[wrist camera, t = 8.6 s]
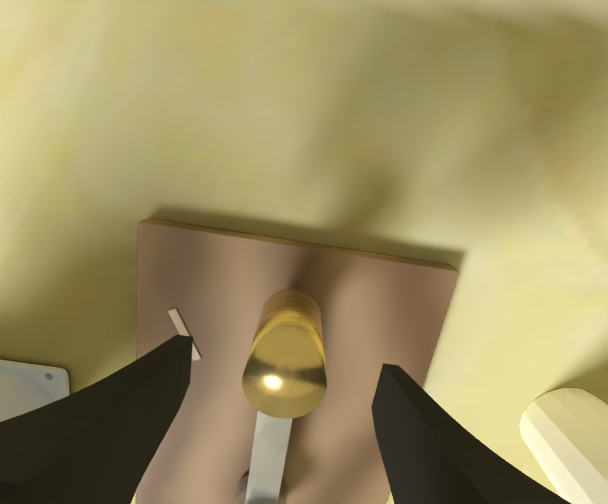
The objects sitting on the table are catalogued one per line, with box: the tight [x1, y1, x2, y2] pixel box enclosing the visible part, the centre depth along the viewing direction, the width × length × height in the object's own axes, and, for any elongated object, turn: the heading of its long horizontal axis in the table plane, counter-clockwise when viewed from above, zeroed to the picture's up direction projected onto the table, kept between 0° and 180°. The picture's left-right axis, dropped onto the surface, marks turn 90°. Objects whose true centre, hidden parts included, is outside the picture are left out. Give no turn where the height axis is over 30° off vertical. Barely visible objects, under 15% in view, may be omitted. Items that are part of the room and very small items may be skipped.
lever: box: [234, 289, 327, 504], centre depth 17 cm, size 4×18×7 cm, turn 171°
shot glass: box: [519, 388, 608, 504], centre depth 19 cm, size 7×7×7 cm
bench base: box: [136, 218, 459, 504], centre depth 21 cm, size 18×22×1 cm
